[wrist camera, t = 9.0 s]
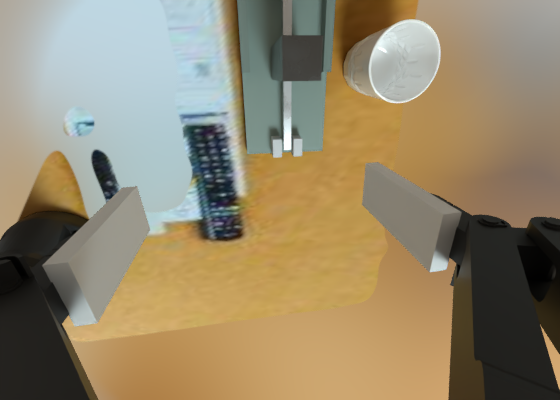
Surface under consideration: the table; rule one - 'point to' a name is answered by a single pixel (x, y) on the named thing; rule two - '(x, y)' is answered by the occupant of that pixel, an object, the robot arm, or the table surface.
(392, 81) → the white cup
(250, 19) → the grey-green piece
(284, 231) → the table surface
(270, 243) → the table surface
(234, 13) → the table surface
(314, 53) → the grey t-handle tool
